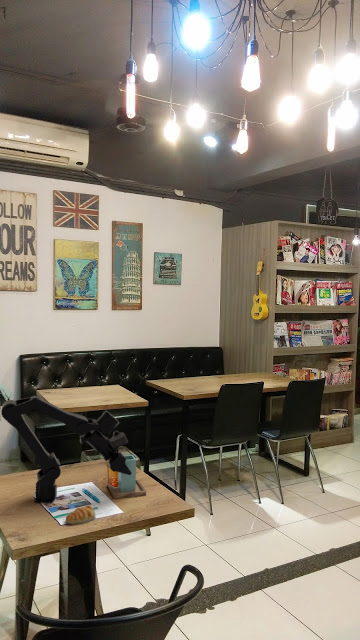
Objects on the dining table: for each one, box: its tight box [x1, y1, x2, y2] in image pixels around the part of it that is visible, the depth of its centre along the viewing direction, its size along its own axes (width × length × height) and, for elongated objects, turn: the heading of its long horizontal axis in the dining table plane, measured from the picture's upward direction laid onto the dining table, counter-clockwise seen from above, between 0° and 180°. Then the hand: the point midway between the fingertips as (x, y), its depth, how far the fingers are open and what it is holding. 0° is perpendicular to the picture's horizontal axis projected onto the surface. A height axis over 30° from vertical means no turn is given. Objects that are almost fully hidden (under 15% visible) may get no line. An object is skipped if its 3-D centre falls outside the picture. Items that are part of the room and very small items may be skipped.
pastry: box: [65, 504, 97, 525], centre depth 159 cm, size 9×7×4 cm
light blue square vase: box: [117, 454, 137, 493], centre depth 183 cm, size 6×6×12 cm
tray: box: [107, 479, 147, 500], centre depth 183 cm, size 12×12×2 cm
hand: (127, 469), depth 183 cm, fingers open, 9 cm apart
